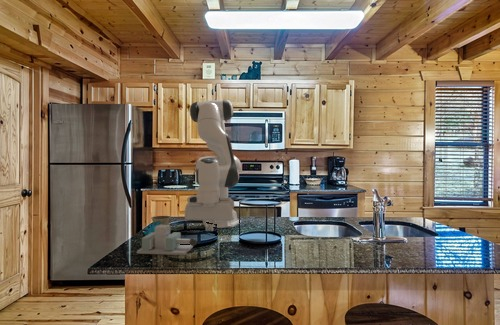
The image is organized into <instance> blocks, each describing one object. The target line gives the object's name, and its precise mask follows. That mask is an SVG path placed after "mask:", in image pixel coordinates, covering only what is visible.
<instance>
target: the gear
mask: <svg viewBox="0 0 500 325" xmlns="http://www.w3.org/2000/svg"><path fill="white" fill-rule="evenodd" d="M160 224H161V223H160V222H158V223H157V224H156V222H153V221H152V223H149V224H148V226H149V227H147V226H146V227H145V228H144V229H145V231H144V232H143V234H144V235H145V236H146V235H148V234H150V233H151V232H155V227H156V226H158V225H160ZM161 225H164V224H163V223H162V224H161ZM145 236H144V237H145Z"/></svg>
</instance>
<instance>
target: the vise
mask: <svg viewBox="0 0 500 325" xmlns="http://www.w3.org/2000/svg"><path fill="white" fill-rule="evenodd" d="M193 247H194V246H192V245H179V246H178V247H177V248H175V249H174V250H173V251H166V249H155V232H151V233H150V234H146V236H143V237H142V238H141V247H140V248H139V249H137V250H136V254H140V255H141V254H142V255H169V256H186V255H187V254H188V253H189V252H190V251H191V250H192V249H193Z"/></svg>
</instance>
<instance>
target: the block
mask: <svg viewBox="0 0 500 325" xmlns="http://www.w3.org/2000/svg"><path fill="white" fill-rule="evenodd" d="M171 234H172V233H171V224H169V225H158V226H156V227H155V249H165V238H167V237H168V236H169V235H171Z"/></svg>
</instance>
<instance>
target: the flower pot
mask: <svg viewBox="0 0 500 325" xmlns="http://www.w3.org/2000/svg"><path fill="white" fill-rule="evenodd" d="M170 220H171V216H169V215H155V216H152V217H151V221H152V223H153V222H156V224H157V223H158V222H160V223H161V224H162V223H163V224H164V225H170ZM161 224H160V225H161Z"/></svg>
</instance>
